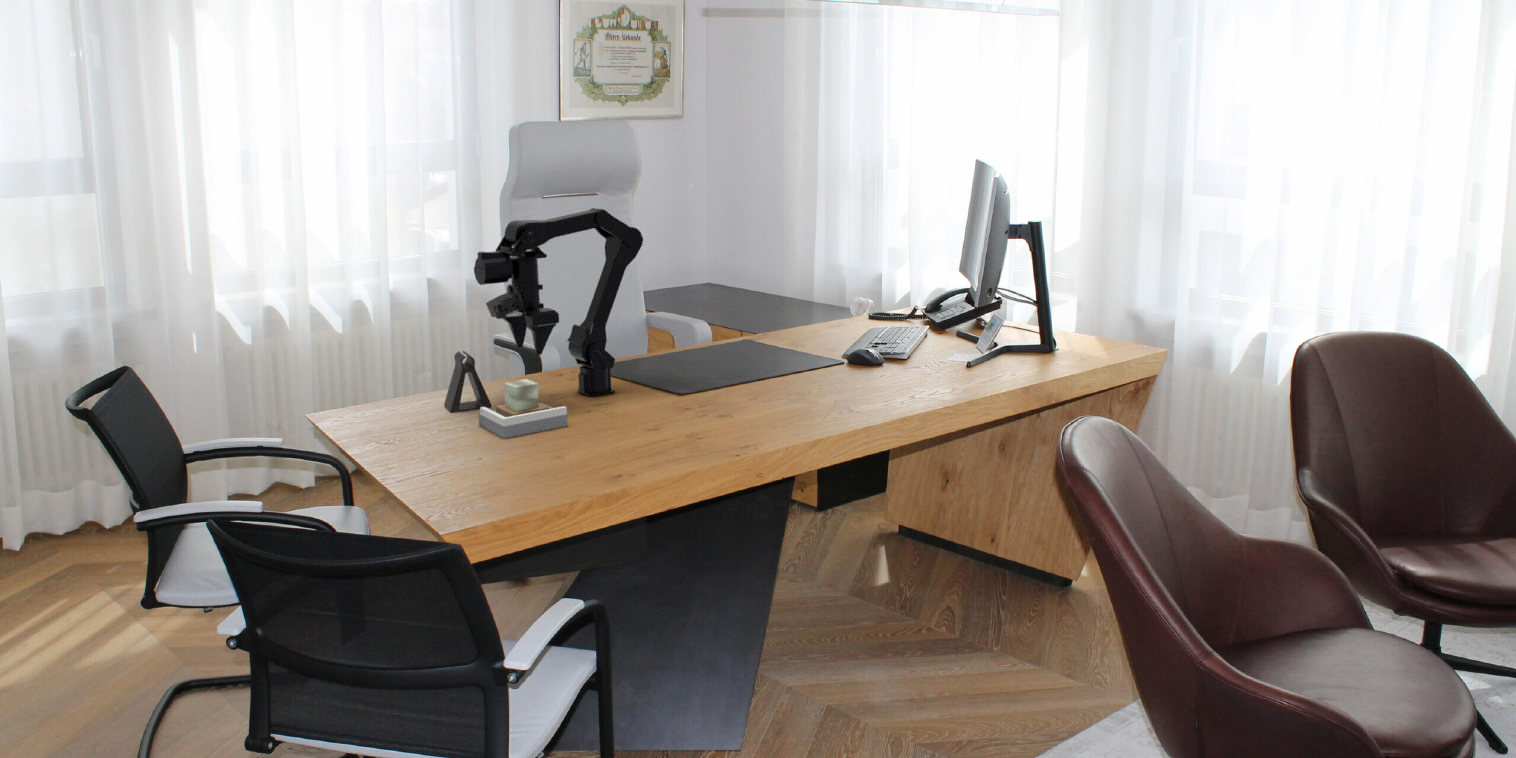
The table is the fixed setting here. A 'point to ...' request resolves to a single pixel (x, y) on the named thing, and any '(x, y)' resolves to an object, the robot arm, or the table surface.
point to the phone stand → (458, 381)
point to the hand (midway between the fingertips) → (529, 351)
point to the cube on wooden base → (520, 398)
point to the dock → (523, 421)
